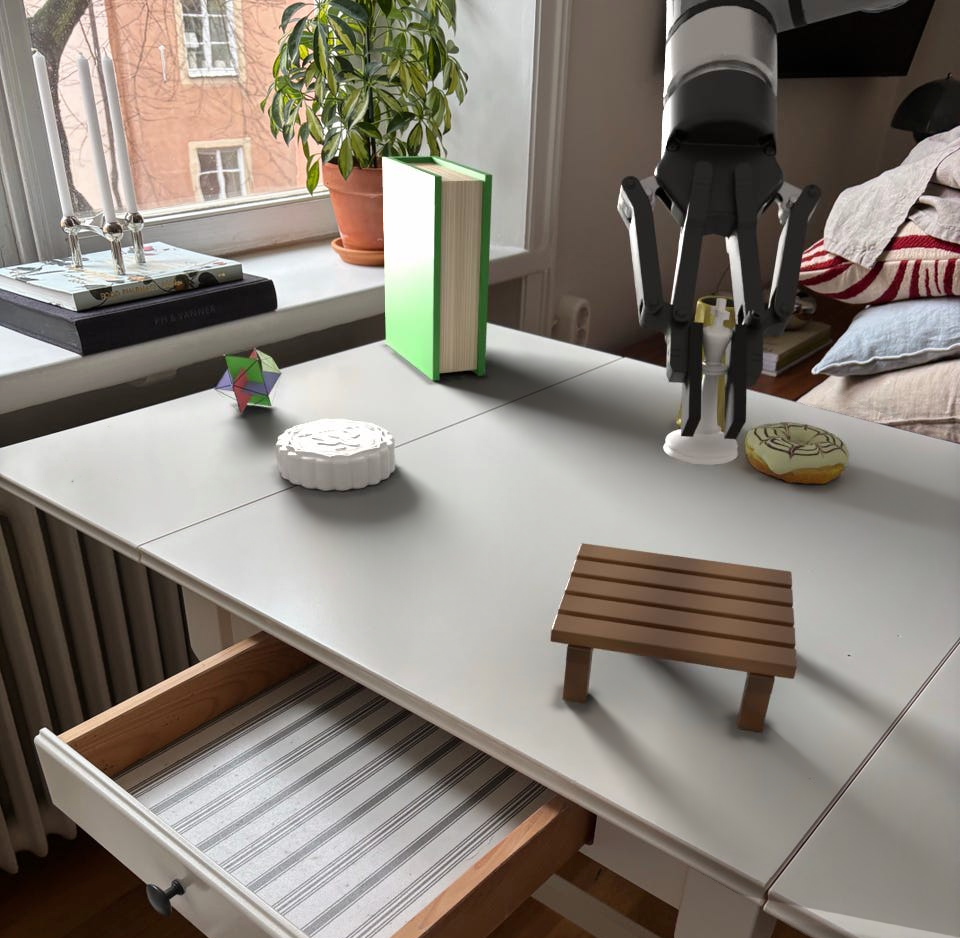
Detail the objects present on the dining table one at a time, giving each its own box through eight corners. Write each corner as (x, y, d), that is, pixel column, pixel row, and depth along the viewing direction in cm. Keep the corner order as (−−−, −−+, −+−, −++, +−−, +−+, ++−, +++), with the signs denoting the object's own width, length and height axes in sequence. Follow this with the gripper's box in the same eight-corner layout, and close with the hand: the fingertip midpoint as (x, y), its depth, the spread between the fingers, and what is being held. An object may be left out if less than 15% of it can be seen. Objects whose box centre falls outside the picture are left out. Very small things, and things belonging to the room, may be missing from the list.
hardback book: (484, 375, 130) (492, 174, 117) (432, 380, 127) (434, 176, 114) (434, 339, 143) (435, 155, 130) (385, 343, 141) (382, 156, 128)
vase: (698, 413, 120) (717, 292, 112) (739, 428, 116) (761, 303, 108) (665, 423, 116) (682, 299, 109) (706, 439, 112) (727, 311, 105)
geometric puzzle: (255, 407, 110) (270, 338, 111) (199, 400, 112) (214, 332, 112) (280, 427, 117) (293, 362, 118) (227, 420, 119) (241, 356, 119)
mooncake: (304, 501, 95) (302, 466, 93) (261, 458, 104) (258, 425, 102) (415, 478, 100) (415, 445, 98) (365, 439, 109) (364, 408, 107)
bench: (777, 631, 78) (791, 569, 75) (780, 737, 66) (797, 669, 63) (575, 601, 80) (581, 540, 78) (544, 698, 69) (550, 631, 66)
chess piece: (683, 468, 64) (703, 311, 59) (651, 441, 68) (668, 291, 63) (751, 461, 65) (777, 306, 60) (716, 435, 69) (738, 287, 64)
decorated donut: (774, 492, 100) (781, 457, 98) (724, 453, 109) (730, 420, 107) (863, 483, 103) (871, 449, 101) (807, 445, 112) (814, 413, 110)
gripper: (815, 149, 70) (816, 459, 65) (602, 140, 71) (587, 446, 66) (851, 67, 63) (855, 408, 58) (613, 57, 64) (597, 394, 58)
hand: (712, 428), depth 62 cm, fingers closed on chess piece, 2 cm apart
